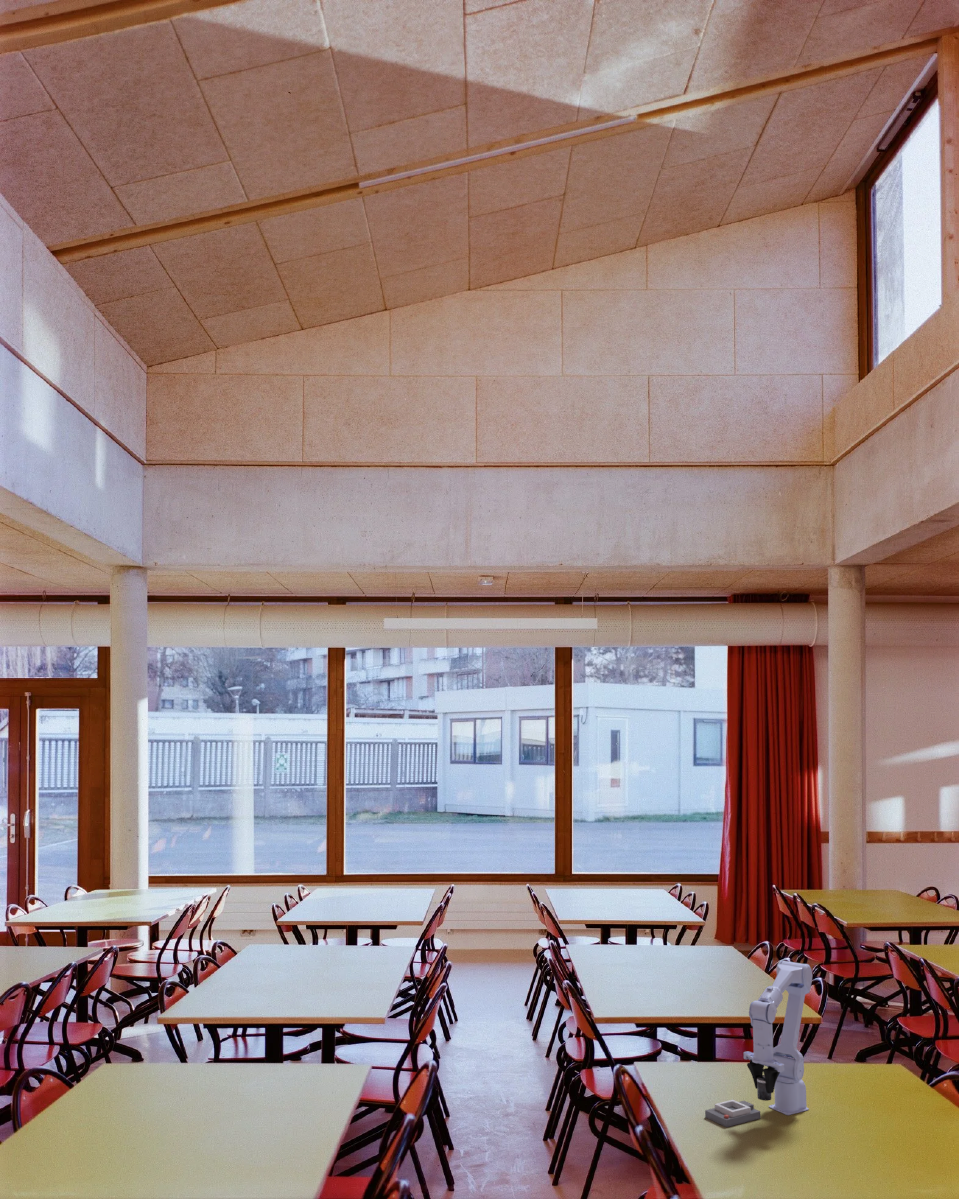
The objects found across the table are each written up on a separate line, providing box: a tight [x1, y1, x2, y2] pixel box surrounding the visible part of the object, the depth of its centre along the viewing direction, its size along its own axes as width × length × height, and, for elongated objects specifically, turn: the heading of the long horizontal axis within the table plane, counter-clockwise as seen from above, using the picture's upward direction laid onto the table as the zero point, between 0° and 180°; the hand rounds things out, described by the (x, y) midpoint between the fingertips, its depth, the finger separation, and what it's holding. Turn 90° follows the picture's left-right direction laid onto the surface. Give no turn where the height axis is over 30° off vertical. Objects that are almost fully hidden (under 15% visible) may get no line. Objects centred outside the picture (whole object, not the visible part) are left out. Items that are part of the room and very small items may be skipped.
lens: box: [756, 1074, 772, 1101], centre depth 304 cm, size 4×4×6 cm
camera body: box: [704, 1099, 761, 1128], centre depth 308 cm, size 14×9×4 cm, turn 120°
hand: (764, 1090), depth 304 cm, fingers closed on lens, 4 cm apart
